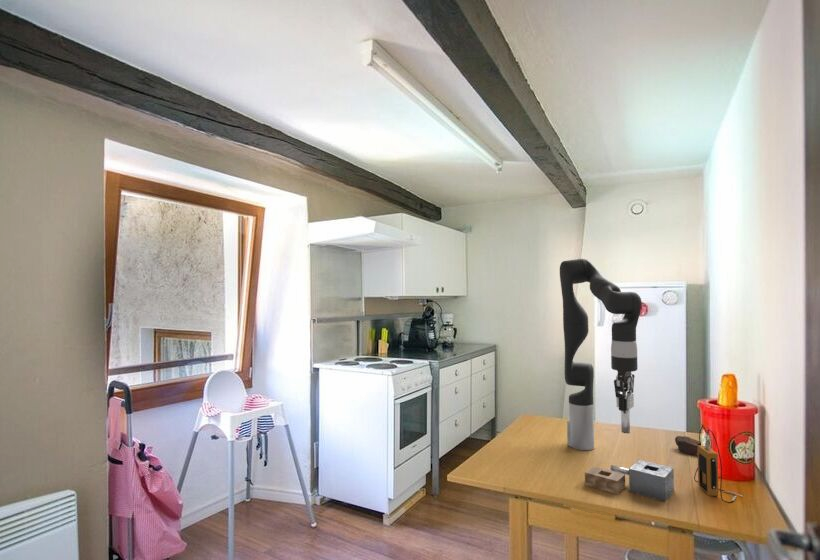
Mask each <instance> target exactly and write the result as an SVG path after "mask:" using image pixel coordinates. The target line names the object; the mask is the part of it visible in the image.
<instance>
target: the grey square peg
mask: <svg viewBox="0 0 820 560" xmlns="http://www.w3.org/2000/svg"><path fill="white" fill-rule="evenodd" d="M620 394H622V392H620ZM634 397H635V395H634V393H632V394H631V393H627V410H626V411H620V418H621V419H620V420H621V421H620V422H621V423H620V424H621V425H620V426H621V429H620V430H621V433H623V434H631V428H630V427H631V423H630V421H631V420H630V418H631V417H630V416H631V415H630V410H631V409H633V408H634V407H635V404H634ZM615 399H616V400H615V401H616V408H619V398H618V397H616V396H615Z"/></svg>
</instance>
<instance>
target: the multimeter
mask: <svg viewBox="0 0 820 560" xmlns="http://www.w3.org/2000/svg"><path fill="white" fill-rule="evenodd" d="M702 429H703V430H704V432H705V444H704V445H701V443H700V446H699V445H698V446H697V449H698V454H697V468H696V470H695V473H694V476H693V480H694V481H695V482H696V483H698V485H697V486H698V488H700V489H701V490H702V491H704V492H705V493H706V495H707V496H710V497H719V495H720V499H721V501H723V503H727V502H728V503H729V504H730V503H733V502H734V501H735V500H736V499H737V496H740V497H743V495H742V494H738V493H736V492H734V491H733V492H732V491H729V490H724V489H722V482H723V466H722V459H721V458H722V457H721V454H720V450H719V445H718V441H717V439H716V437H715V434H714V432H713V430H711V429H708V430H706V428H705V427H704V425H703V424H701V427H700V430H699V434H698V439H699V440H698V441H699V442H701V431H702ZM709 432H711V434H712V436H713V438H714V441H715V445H716V448H717V451H718V453H717V452H716V451H715V450H713V449H712V448H710V443H709ZM718 456H719V457H718ZM719 463H720V485H719ZM696 475H697V480H696ZM719 486H720V488H719ZM719 491H720V492H719ZM722 492H725V493H727V492H728V494H731V493H732V494H731V495H734V494H735V495H734V496H733V498H732V499H731V501H726V500H725V499H723V493H722ZM719 493H720V494H719ZM728 503H727V504H728Z"/></svg>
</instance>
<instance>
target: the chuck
mask: <svg viewBox="0 0 820 560" xmlns="http://www.w3.org/2000/svg"><path fill="white" fill-rule="evenodd" d="M609 468H610V469H609V470H610V471H614V472H618V473H622V474H625V476H628V481H629V482H628V485H629V486H628V487H629V488H628V489H629V491H628V492H630V493H634V494H638V495H641V496H645V497H647V498H652V499H655V500H657V501H658V500H659V501H663V502H667V500H668V499H669V497H670V496H671V495H672V494H673V492H674V491H675V478H674V476H675V475H674V471H675V469H674V468H675V467H672V466H668V465H663V464H659V463H655V462H650V461H645V460H643V459H642V460H641V459H638V460H637V461H635V462H634V463H633V465H631V466H630V467H629V468H625V467H621V466H617V465H613V464H611V465H610V467H609Z"/></svg>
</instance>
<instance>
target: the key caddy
mask: <svg viewBox="0 0 820 560" xmlns="http://www.w3.org/2000/svg"><path fill="white" fill-rule="evenodd" d="M584 486H587V487H591V488H594V489H596V490H597V489H598V490H601V491H604V492H608V493H612V494H615V495H619V494H620V493H621V492H622V491H623V490H624V489H625V488H626V474H622V473H618V472H614V471H611V469H606V468H603V467H598V466H594V465H592V466H591V467H589V469H588V470H586V471H585V472H584Z"/></svg>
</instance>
